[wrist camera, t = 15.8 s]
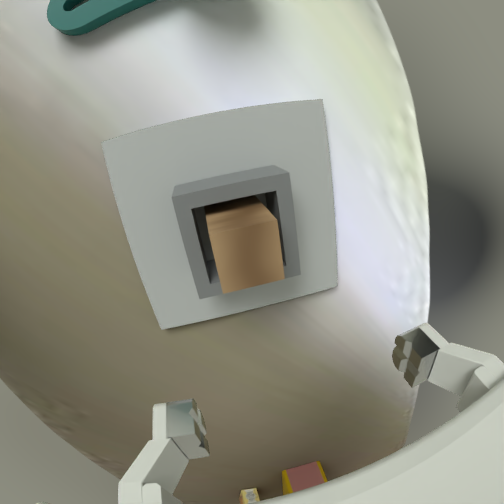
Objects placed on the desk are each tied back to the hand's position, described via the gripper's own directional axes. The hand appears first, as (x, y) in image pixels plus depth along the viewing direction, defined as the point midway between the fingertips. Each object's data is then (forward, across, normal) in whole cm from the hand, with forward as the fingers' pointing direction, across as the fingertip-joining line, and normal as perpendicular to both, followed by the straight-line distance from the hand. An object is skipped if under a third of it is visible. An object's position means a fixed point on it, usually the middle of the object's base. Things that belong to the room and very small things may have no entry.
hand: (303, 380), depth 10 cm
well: (+20, 0, 0) cm, 20 cm away
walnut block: (+19, 0, 0) cm, 19 cm away
